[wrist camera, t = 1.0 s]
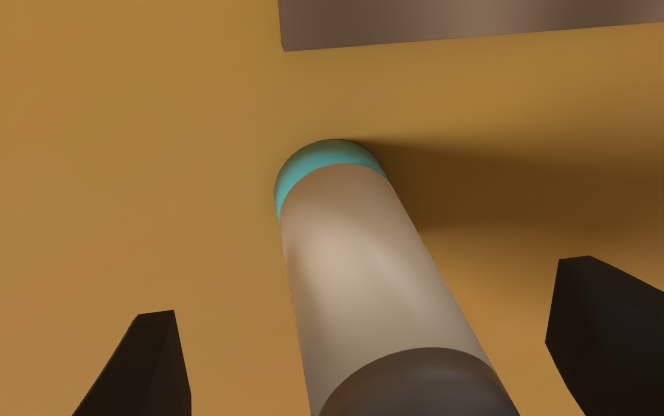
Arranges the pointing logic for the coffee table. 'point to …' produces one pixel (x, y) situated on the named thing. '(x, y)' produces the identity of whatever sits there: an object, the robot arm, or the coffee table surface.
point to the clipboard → (445, 19)
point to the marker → (373, 297)
